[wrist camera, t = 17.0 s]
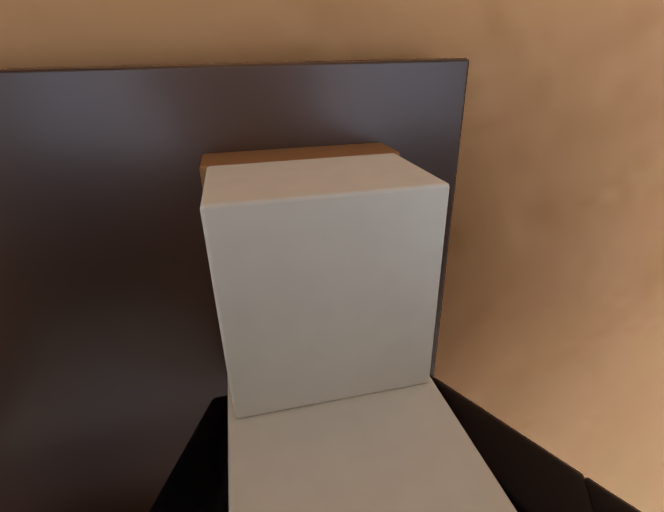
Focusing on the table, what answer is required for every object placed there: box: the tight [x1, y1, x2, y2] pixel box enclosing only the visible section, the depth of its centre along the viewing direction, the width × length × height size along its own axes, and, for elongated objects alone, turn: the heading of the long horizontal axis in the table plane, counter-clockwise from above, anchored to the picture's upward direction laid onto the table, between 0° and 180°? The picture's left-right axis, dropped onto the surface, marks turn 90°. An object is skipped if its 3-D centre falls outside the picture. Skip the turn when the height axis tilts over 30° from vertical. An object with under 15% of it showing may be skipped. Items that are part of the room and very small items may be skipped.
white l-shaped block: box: [199, 142, 517, 512], centre depth 6 cm, size 7×3×5 cm, turn 1°
